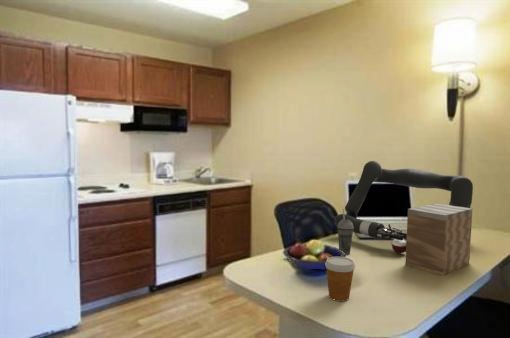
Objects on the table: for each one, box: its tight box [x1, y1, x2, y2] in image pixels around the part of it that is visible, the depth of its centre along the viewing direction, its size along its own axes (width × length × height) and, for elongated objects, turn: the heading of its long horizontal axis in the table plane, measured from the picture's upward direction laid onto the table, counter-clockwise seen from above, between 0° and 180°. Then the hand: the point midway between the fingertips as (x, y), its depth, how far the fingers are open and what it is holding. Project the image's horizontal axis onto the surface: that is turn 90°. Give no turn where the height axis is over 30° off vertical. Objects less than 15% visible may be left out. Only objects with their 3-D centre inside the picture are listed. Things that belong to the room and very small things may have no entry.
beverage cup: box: [336, 208, 354, 256], centre depth 164 cm, size 7×7×20 cm
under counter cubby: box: [405, 202, 473, 276], centre depth 151 cm, size 23×15×23 cm, turn 128°
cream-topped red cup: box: [387, 223, 407, 254], centre depth 165 cm, size 10×6×12 cm, turn 39°
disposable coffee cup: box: [325, 256, 356, 302], centre depth 119 cm, size 10×10×12 cm
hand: (405, 237), depth 163 cm, fingers closed on cream-topped red cup, 4 cm apart
